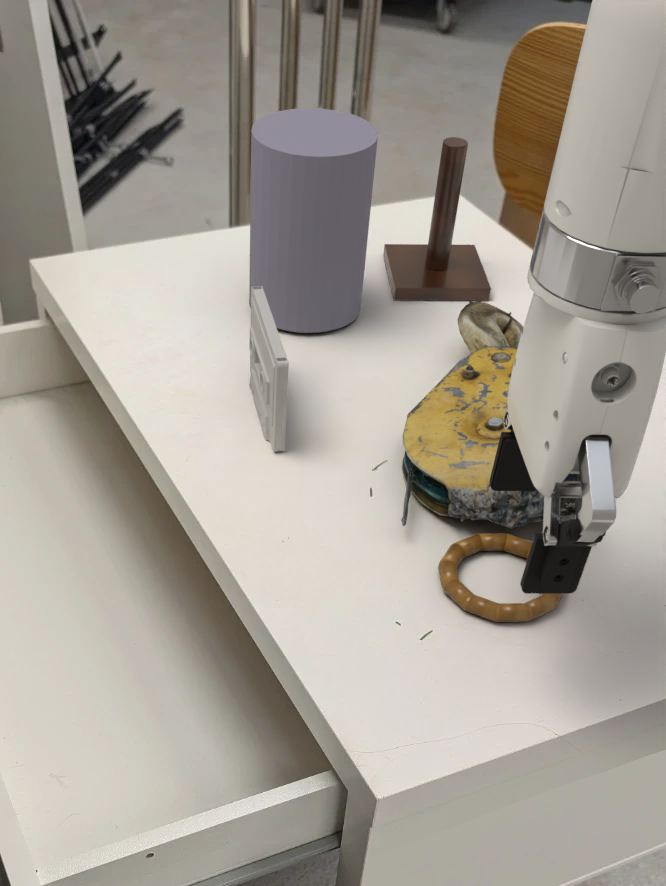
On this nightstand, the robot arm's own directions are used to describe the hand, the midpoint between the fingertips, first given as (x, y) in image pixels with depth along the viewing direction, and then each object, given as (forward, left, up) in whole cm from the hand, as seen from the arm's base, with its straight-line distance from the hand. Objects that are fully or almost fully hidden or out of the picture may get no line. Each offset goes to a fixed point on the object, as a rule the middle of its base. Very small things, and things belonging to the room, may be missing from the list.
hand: (529, 536), depth 62 cm
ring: (0, -4, -7) cm, 8 cm away
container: (+11, -42, -7) cm, 44 cm away
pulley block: (-3, -21, -7) cm, 23 cm away
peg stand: (-2, -48, -7) cm, 48 cm away
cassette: (+15, -25, -7) cm, 30 cm away
